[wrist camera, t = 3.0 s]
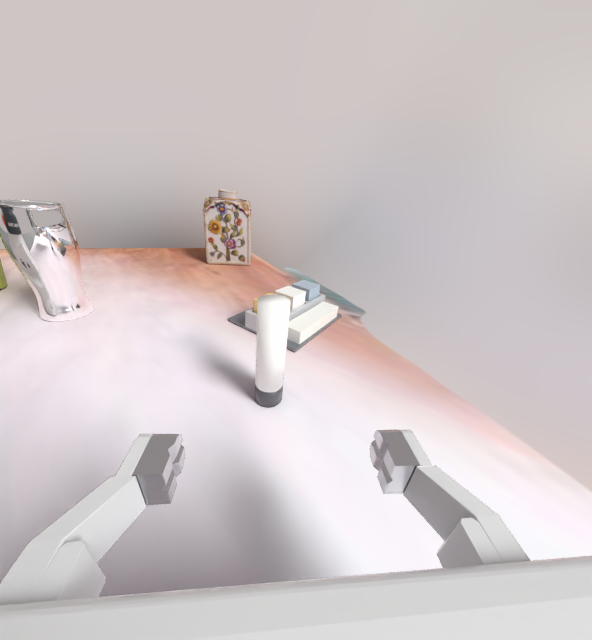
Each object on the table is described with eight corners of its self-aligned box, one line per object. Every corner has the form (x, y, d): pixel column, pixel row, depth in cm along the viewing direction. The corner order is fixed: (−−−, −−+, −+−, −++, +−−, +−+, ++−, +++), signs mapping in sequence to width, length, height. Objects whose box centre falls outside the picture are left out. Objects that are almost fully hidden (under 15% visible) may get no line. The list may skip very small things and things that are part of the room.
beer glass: (85, 299, 41) (53, 200, 34) (106, 312, 38) (75, 206, 31) (28, 312, 36) (-23, 198, 29) (47, 328, 33) (-6, 205, 26)
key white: (274, 307, 41) (275, 290, 39) (286, 301, 43) (288, 285, 42) (291, 314, 39) (293, 297, 38) (304, 308, 42) (306, 291, 40)
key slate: (290, 299, 44) (292, 284, 43) (301, 294, 47) (303, 279, 46) (307, 306, 43) (309, 289, 41) (317, 300, 45) (320, 284, 44)
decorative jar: (211, 254, 76) (207, 187, 67) (250, 256, 78) (250, 192, 70) (206, 264, 65) (200, 188, 57) (250, 266, 68) (251, 193, 59)
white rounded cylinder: (249, 398, 25) (250, 300, 20) (266, 383, 28) (271, 292, 22) (270, 412, 24) (276, 311, 19) (287, 395, 26) (297, 301, 21)
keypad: (228, 320, 39) (227, 303, 38) (284, 296, 51) (285, 282, 49) (294, 352, 33) (296, 333, 32) (341, 316, 45) (344, 301, 43)
